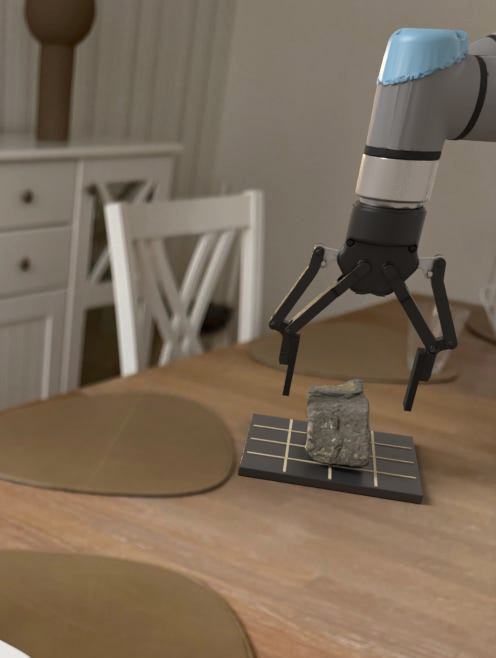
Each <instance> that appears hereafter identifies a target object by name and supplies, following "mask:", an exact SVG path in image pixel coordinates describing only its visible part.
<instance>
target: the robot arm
mask: <svg viewBox="0 0 496 658" xmlns="http://www.w3.org/2000/svg"><path fill="white" fill-rule="evenodd" d="M469 41H470V36H469V33H468V32H467V31H465V30H460V29H459V30H458V29H443V28H423V27H420V28H419V27H402V28H399V29H398V30H396V31H394V32H393V33H392V34H391V36H390V37H389V39H388V41H387V45H386V49H385V52H384V54H383V58H382V63H381V65H380V70H379V73H378V77H377V78H376V89H375V94H374V100H373V104H372V105H373V106H372V110H371V116H370V120H369V127H368V131H367V137H366V142H365V145H364V149H363V153H362V158H361V162H360V166H359V172H358V176H357V181H356V186H355V191H354V193H355V195H356V196H357V197H359V200H356V201H354V203H352V206H351V210H350V215H349V219H348V224H347V229H346V234H345V238H344V242H343V244H342V246H341V247H340V249H338V248H333V247H328V246H325V244H324V243H322V242H318V243H316V244H315V245H314V247H313V250H312V253H311V256H310V259H309V263H308V264H307V265H306V267H305V268H304V270H303V271H302V273H301V274H300V275H299V277H298V278H297V279H296V281H295V282H294V284H293V285H292V286H291V288H290V290H289V291H288V292H287V294H286V295H285V297H284V298H283V299H282V301H281V302H280V303H279V305H278V307H277V308H276V309H275V311H274V312H273V313H272V315H271V316H270V319H269V322H268V328H269V329H270V330H272V331H276V332H277V333H280V335H281V337H282V338H281V345H280V350H279V356H278V364H279V365H284V366H287V368H286V374H285V379H284V384H283V389H282V396H285V397H290V393H291V387H292V383H293V376H294V372H295V367H296V361H297V356H298V351H299V345H300V342H301V341H300V340H301V333H298V332H299V331H300V330H302V329H303V328H304V327H305V326H306V325H307V324H309V323H310V322H311V321H312V320H313V319H314V318H316V316H318V315H319V314H320V313H322V312H323V311H324V310H325V309H326V308H327V307H328V306H330V305H331V304H332V303H333V302H334V301H335V300H337V299H338V298H339V297H341V296H342V295H344V293H345V292H347V291H348V290H350V291H351V292H353V293H354V294H355V295H361V296H364V295H372V296H373V295H374V296H375V297H381V298H385V297H386V296H389V295H392V294H394V295H395V297H396V299H397V300H398V302H399V304H400V305H401V307H402V308H403V310H404V313H405V314H406V316H407V318H408V319H409V321H410V323H411V324H412V326H413V328H414V330H415V331H416V334H417V335H418V337H419V339H420V340H421V342H422V344H423V346H424V347H419V346H418V347H416V351H415V352H416V353H415V356H414V359H413V364H412V367H411V371H410V375H409V377H408V378H409V379H408V382H407V386H406V390H405V394H404V398H403V402H402V406H403V412H412V410H413V405H414V401H415V399H416V394H417V390H418V386H419V383H420V382H427V383H428V382H429V380H430V379H431V376H432V374H433V369H434V367H435V366H434V365H435V362H436V358H437V356H438V354H439V353H440V352H442V351H447V350H449V351H452V350H455V349H456V348H458V344H459V342H458V337H457V333H456V328H455V324H454V320H453V315H452V311H451V306H450V302H449V298H448V294H447V289H446V285H445V274H446V268H447V261H446V259H445V256H444V255H442V254H440V253H438V254H435V255H434V256H419V252H418V251H419V250H418V249H419V245H420V242H421V237H422V233H423V229H424V225H425V221H426V216H427V213H428V211H427V210H426V207H425V206H424V203H427V202H428V201H430V200H431V197H432V193H433V189H434V185H435V181H436V176H437V173H438V168H439V164H440V160H441V156H442V151H443V149H444V145H445V142H446V140H447V141H469V142H484V143H485V142H486V143H496V30H495V31H493V32H492V33H490V34H488V35H486V36H484V37H482V38H480V39H477V40H475V41H473V42H471V43H470V42H469ZM334 261H336V263H337V266H338V268H339V270H340V272H341V274H340V275H339V276H338V277H336V279H334V280H333V281H332V283H331V284H330V285H329V286H327V287H326V288H325V289H324V290H323V291H321V292H320V294H318V295H317V296H315V298H314V299H312V301H310V302H309V303H308V304H307V305H306V306H305V307H303V308H302V309H301V310H300V311H299V312H298V313H296V315H294V316H293V317H292V318H291V319H290V320H287V319H286V318H287V317H288V315H289V314H290V312H291V311H292V310H293V308H294V307H295V305H296V304H297V303H298V302H299V300H300V299H301V297H302V296H303V294H304V293H305V292H306V290H307V289H308V287H309V286H310V285H311V284H312V282H313V281H314V279H315V278H316V276H317V275H318V273H319V271H320V269H326V268H327V267H329V264H330V263H331V262H334ZM418 269H419V270H421V271H422V273H423V276H424V279H428V280H430V286H431V290H432V295H433V299H434V304H435V308H436V312H437V316H438V320H439V325H440V329H441V334H442V336H441V335H440V336H435V334H434V331H432V329H431V327H430V325H429V323H428V321H427V320H426V318H425V316H424V314H423V313H422V311H421V309H420V307H419V305H418V304H417V302H416V301H415V298H414V296H413V295H412V293H411V291H410V289H409V287H408V286H407V284H406V281H407V280H408V279H409V278H410V277H411V276H412V275H413V274H414V273H415V272H417V270H418Z"/></svg>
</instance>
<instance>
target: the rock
mask: <svg viewBox="0 0 496 658" xmlns="http://www.w3.org/2000/svg"><path fill="white" fill-rule="evenodd" d="M364 388H365V385H364V381H363V380H362V379H358V378H354V379H349V380H347V381H346V382H344V383H342V384H337V385H331V384H324V385H316V384H312V385H311V386H309V387H308V388H307V398H306V419H307V421H308V429H307V440H306V450H307V451H309V454H310V456H311V458H312V459H314V460H315V461H317V462H323V463H329V464H338V465H349V466H358V467H366V466H368V465H369V461H370V451H369V450H370V431H371V428H370V427H371V426H370V400H369V399H368V397H367V396H366V394H365V389H364Z"/></svg>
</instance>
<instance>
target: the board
mask: <svg viewBox="0 0 496 658" xmlns="http://www.w3.org/2000/svg"><path fill="white" fill-rule="evenodd" d="M307 429H308V420H301V419H294V418H289V417H288V418H287V417H281V416H274V415H266V414H261V413H255V412H254V413H253V412H252V414H251V417H250V422H249V426H248V429H247V435H246V437H245V441H244V446H243V450H242V454H241V457H240V461H239V466H238V471H237V475H238V476H243V477H249V478H256V479H260V480H261V479H262V480H268V481H274V482H280V483H287V484H294V485H299V486H305V487H312V488H317V489H319V488H320V489H326V490H332V491H336V492H338V491H339V492H344V493H351V494H357V495H363V496H369V497H376V498H381V499H387V500H393V501H400V502H407V503H411V504H412V503H413V504H419V505H422V502H423V498H424V492H423V488H422V481H421V476H420V470H419V465H418V464H419V463H418V459H417V453H416V448H415V447H416V446H415V442H414V437H413V436H410V435H405V434H404V435H403V434H397V433H390V432H383V431H375V430H370V450H369V451H370V461H369V465H368V466H366V467H358V466H349V465H338V464H329V463H323V462H317V461H315V460H314V459H312V458H311V456H310V454H309V451H307V450H306V440H307Z"/></svg>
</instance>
